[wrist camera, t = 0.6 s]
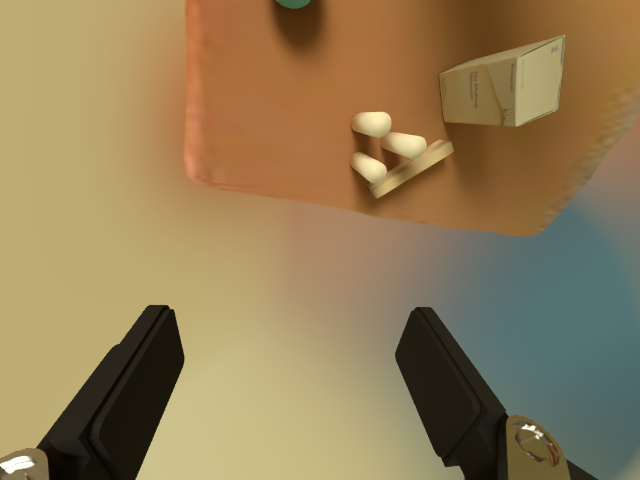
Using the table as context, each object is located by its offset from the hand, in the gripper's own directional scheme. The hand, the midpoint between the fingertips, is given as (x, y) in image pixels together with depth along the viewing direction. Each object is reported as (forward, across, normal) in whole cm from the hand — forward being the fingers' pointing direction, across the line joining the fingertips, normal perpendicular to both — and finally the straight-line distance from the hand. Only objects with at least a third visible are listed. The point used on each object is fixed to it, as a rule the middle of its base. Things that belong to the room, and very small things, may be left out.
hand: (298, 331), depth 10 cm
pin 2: (+29, -13, -6) cm, 32 cm away
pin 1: (+29, -9, -3) cm, 30 cm away
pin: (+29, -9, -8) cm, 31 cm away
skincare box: (+29, -21, -12) cm, 38 cm away
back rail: (+29, -16, -2) cm, 33 cm away
